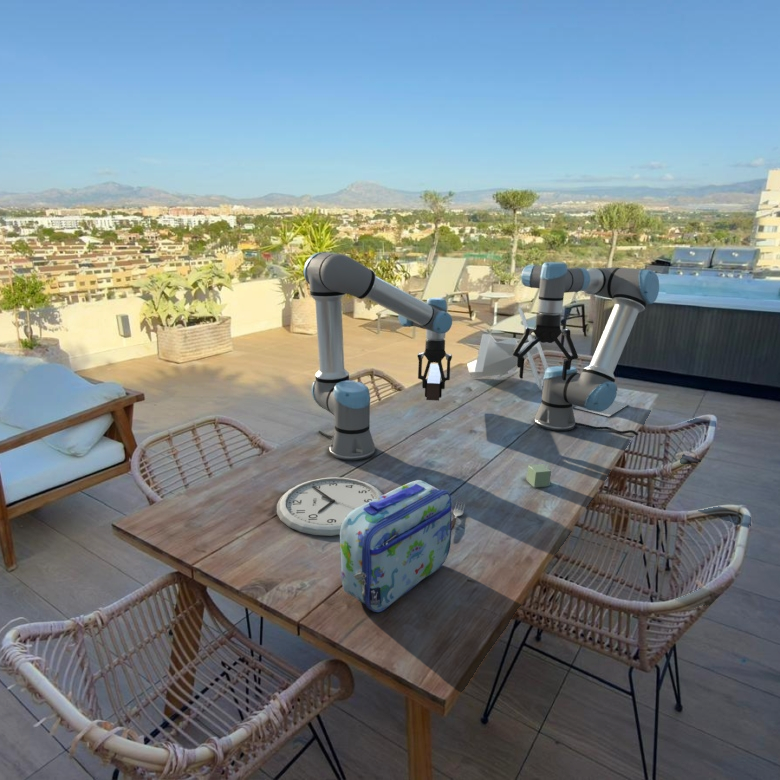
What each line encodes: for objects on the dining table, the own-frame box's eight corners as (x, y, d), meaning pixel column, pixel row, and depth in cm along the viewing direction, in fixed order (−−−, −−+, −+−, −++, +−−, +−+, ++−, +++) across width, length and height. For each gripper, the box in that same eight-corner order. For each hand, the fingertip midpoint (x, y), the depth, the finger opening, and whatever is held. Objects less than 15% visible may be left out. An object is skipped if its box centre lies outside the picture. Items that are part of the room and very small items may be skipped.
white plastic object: (488, 419, 265) (468, 396, 240) (469, 347, 287) (449, 319, 262) (559, 395, 253) (546, 369, 228) (534, 321, 275) (519, 290, 250)
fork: (441, 537, 129) (441, 530, 128) (456, 506, 143) (456, 499, 142) (451, 539, 128) (452, 532, 127) (465, 508, 142) (466, 501, 142)
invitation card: (608, 416, 214) (573, 407, 224) (608, 416, 214) (573, 408, 224) (628, 404, 229) (594, 396, 238) (628, 405, 229) (594, 397, 238)
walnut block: (429, 378, 233) (430, 363, 231) (441, 379, 232) (441, 364, 230) (426, 400, 205) (426, 382, 202) (439, 400, 204) (439, 383, 202)
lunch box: (369, 626, 100) (370, 530, 93) (334, 598, 107) (332, 507, 101) (455, 567, 117) (460, 483, 111) (419, 547, 124) (423, 467, 118)
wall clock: (392, 527, 129) (268, 531, 127) (391, 533, 130) (269, 537, 127) (383, 473, 158) (282, 475, 155) (383, 478, 158) (282, 480, 156)
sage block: (541, 478, 160) (542, 463, 159) (549, 486, 156) (551, 470, 154) (526, 480, 159) (527, 465, 158) (534, 487, 155) (535, 472, 153)
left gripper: (459, 337, 203) (456, 394, 210) (412, 335, 205) (411, 392, 212) (459, 341, 196) (456, 400, 203) (411, 339, 198) (409, 398, 205)
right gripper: (587, 312, 166) (579, 376, 172) (507, 309, 169) (502, 373, 175) (593, 316, 159) (584, 383, 165) (509, 313, 162) (504, 379, 168)
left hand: (433, 396), depth 208 cm, fingers closed on walnut block, 5 cm apart
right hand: (542, 378), depth 170 cm, fingers open, 13 cm apart
